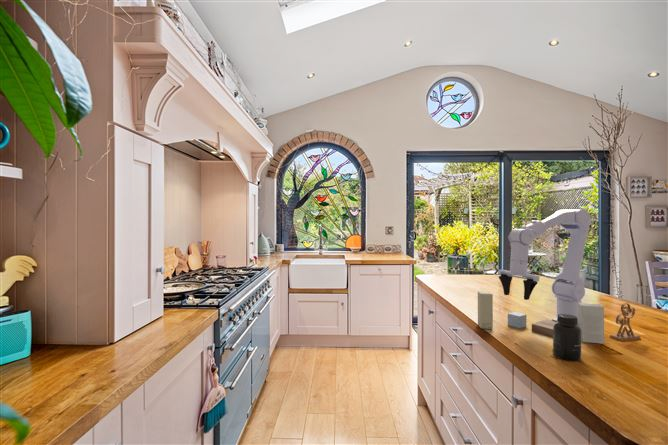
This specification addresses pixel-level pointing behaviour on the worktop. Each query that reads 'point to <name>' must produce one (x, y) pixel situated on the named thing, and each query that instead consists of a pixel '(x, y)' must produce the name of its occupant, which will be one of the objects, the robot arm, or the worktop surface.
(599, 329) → the skincare box
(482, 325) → the box
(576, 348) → the supplement bottle
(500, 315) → the worktop surface
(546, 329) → the walnut block
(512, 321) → the slate cube
